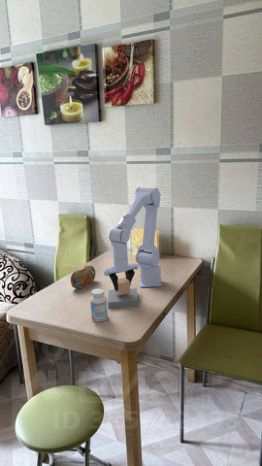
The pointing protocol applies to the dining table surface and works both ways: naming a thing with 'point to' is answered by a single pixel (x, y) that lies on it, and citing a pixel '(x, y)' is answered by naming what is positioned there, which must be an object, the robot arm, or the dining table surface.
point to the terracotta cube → (123, 286)
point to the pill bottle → (98, 305)
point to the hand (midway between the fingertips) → (122, 288)
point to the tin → (82, 277)
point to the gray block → (122, 299)
